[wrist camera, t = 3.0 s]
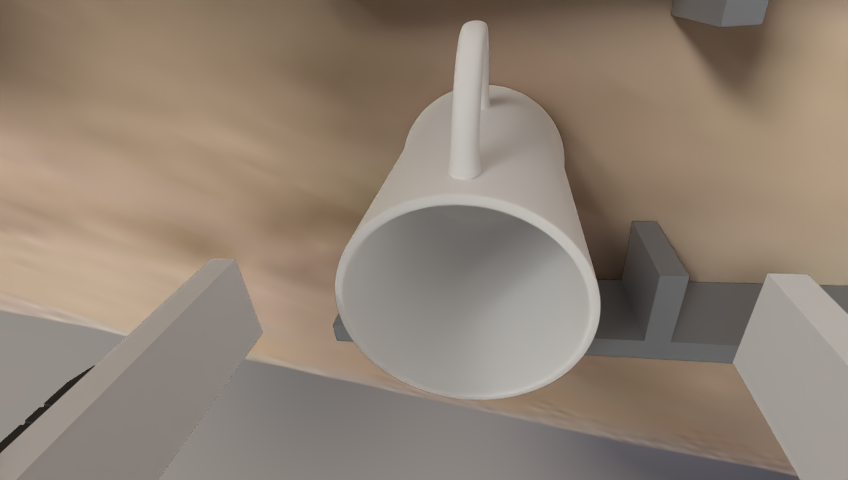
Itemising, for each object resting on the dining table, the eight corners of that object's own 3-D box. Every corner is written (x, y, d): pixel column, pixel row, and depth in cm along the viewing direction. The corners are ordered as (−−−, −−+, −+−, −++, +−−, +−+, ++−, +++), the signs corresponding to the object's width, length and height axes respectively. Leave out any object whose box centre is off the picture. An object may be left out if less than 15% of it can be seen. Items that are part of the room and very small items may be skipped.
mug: (406, 2, 19) (298, 32, 9) (599, 14, 18) (709, 60, 8) (402, 224, 26) (335, 384, 16) (546, 242, 25) (572, 424, 15)
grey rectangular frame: (283, -86, 18) (217, -104, 14) (1390, -249, 12) (1860, -368, 8) (361, 287, 29) (336, 340, 25) (973, 307, 22) (1079, 383, 18)
